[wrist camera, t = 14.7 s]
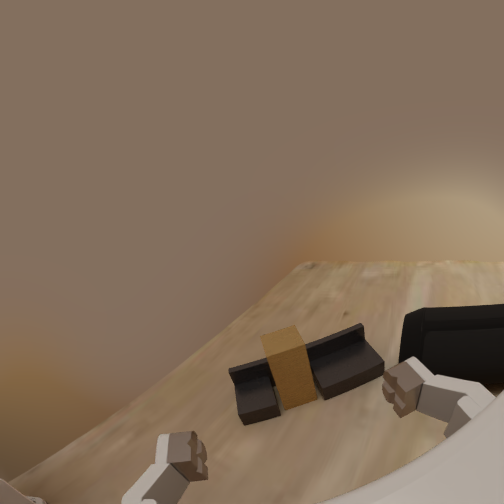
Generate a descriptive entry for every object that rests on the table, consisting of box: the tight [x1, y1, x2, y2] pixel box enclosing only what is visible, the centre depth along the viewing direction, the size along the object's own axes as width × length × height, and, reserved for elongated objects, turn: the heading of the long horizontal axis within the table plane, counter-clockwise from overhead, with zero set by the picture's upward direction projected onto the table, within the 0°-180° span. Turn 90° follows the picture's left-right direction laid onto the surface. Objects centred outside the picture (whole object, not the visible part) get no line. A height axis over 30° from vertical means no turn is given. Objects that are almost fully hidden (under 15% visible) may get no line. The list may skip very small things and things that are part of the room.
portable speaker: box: [399, 304, 504, 384], centre depth 21 cm, size 26×10×10 cm, turn 55°
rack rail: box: [229, 323, 384, 425], centre depth 34 cm, size 7×20×5 cm, turn 97°
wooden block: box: [260, 325, 317, 410], centre depth 32 cm, size 4×4×10 cm
